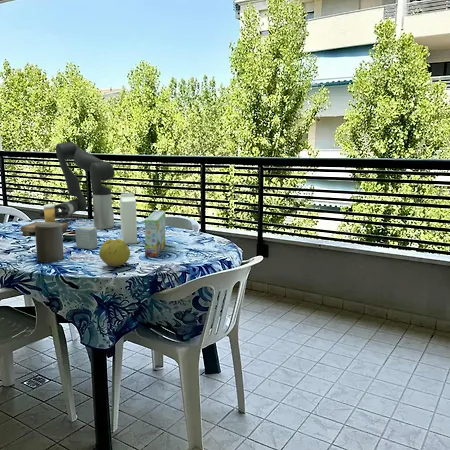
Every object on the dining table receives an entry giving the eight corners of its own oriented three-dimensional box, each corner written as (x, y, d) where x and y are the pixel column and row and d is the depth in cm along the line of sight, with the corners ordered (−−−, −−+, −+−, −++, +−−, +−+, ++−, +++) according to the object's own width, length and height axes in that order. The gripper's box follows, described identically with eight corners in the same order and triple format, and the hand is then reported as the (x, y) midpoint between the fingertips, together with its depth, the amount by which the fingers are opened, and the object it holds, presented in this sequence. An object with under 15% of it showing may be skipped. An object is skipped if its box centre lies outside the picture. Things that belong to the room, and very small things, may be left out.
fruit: (92, 268, 163) (91, 241, 161) (111, 260, 174) (110, 235, 172) (119, 272, 159) (117, 244, 157) (136, 263, 170) (136, 237, 168)
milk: (137, 242, 202) (136, 193, 198) (123, 244, 200) (122, 194, 195) (134, 239, 208) (133, 192, 203) (121, 241, 205) (119, 192, 201)
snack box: (158, 257, 179) (157, 219, 176) (144, 257, 179) (143, 219, 176) (166, 244, 200) (165, 210, 197) (153, 244, 200) (152, 210, 197)
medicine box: (98, 247, 194) (97, 227, 192) (91, 249, 190) (90, 229, 188) (82, 245, 196) (81, 226, 194) (76, 248, 192) (74, 228, 190)
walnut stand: (68, 231, 225) (67, 223, 224) (54, 236, 212) (54, 228, 211) (36, 229, 227) (35, 221, 226) (21, 235, 214) (20, 227, 214)
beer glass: (57, 226, 236) (56, 204, 234) (52, 228, 231) (51, 205, 229) (48, 225, 237) (46, 204, 234) (43, 227, 232) (41, 205, 229)
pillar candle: (37, 263, 169) (34, 224, 166) (36, 257, 178) (34, 219, 175) (64, 261, 173) (63, 222, 170) (62, 254, 182) (61, 218, 179)
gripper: (50, 202, 247) (34, 207, 231) (75, 203, 245) (60, 208, 229) (51, 216, 249) (35, 221, 233) (76, 217, 247) (61, 222, 231)
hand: (48, 215), depth 231 cm, fingers open, 8 cm apart
